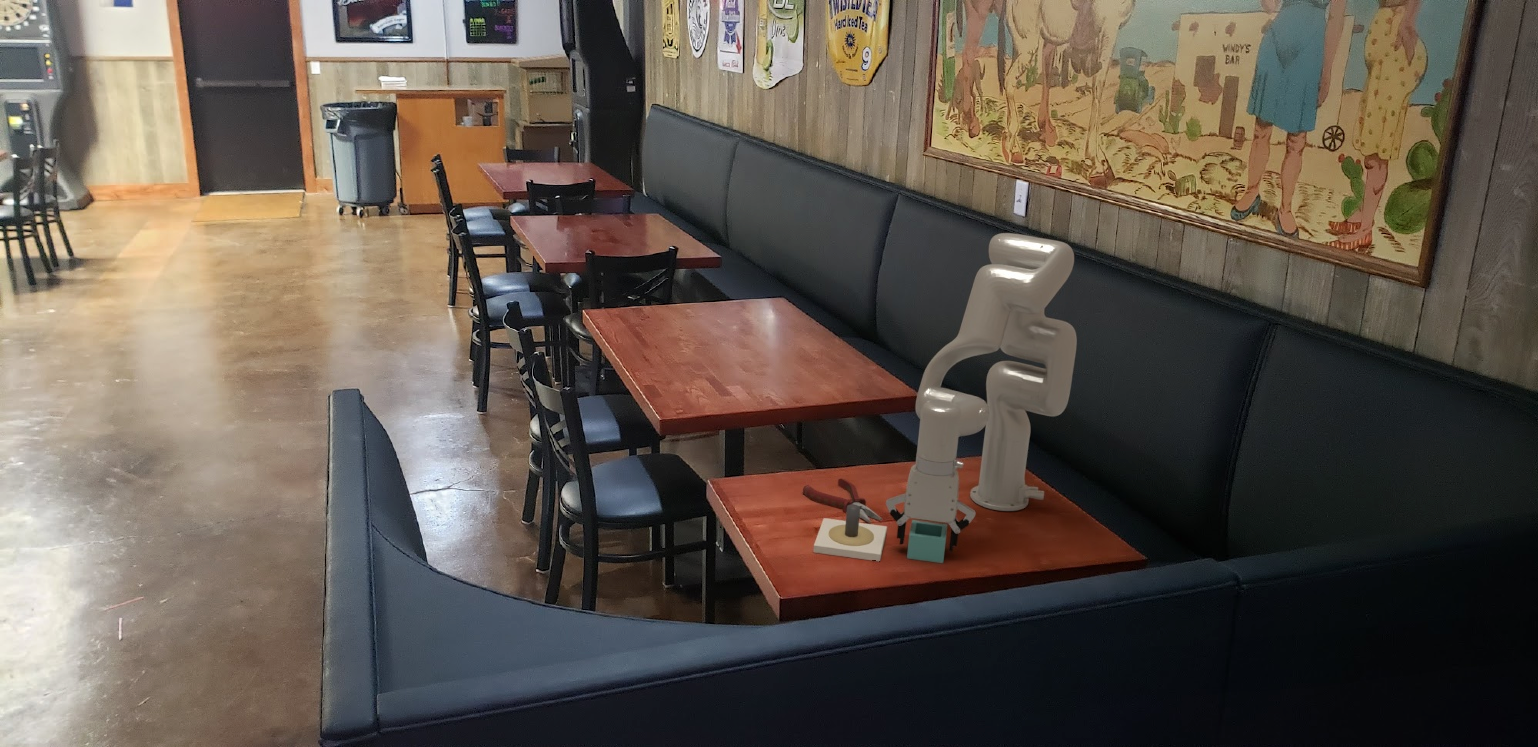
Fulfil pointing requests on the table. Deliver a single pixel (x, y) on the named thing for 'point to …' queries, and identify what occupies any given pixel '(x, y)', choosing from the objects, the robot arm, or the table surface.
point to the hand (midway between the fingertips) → (926, 545)
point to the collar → (927, 541)
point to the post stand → (850, 537)
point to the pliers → (842, 499)
